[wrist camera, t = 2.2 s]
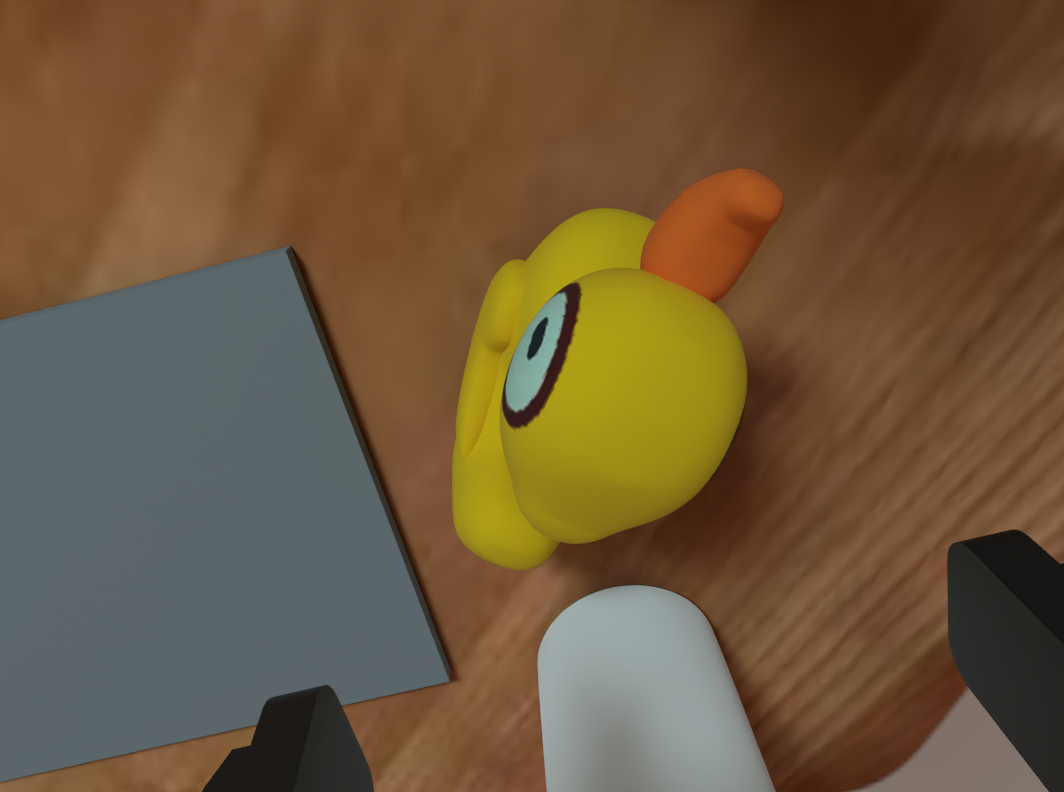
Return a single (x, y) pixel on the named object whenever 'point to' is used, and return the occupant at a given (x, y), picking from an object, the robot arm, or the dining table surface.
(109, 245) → the dining table surface
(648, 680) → the can
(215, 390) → the mat
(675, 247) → the duckling
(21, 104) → the dining table surface
